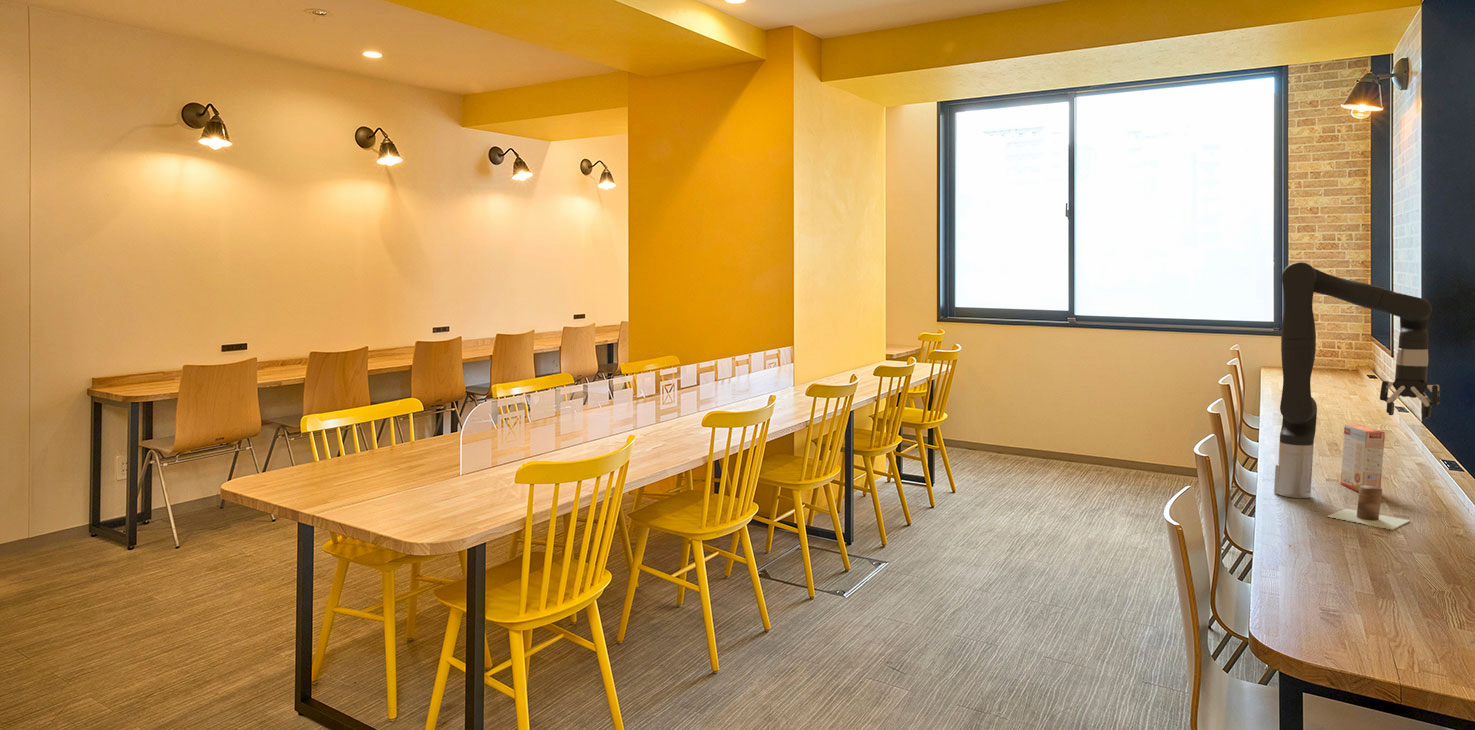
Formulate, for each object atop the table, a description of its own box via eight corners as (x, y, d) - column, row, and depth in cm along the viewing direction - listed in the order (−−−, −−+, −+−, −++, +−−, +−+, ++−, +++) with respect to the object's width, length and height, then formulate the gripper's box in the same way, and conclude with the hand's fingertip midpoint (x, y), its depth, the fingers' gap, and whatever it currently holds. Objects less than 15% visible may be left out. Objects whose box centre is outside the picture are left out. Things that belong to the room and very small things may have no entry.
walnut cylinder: (1354, 517, 248) (1357, 487, 246) (1359, 513, 251) (1362, 484, 250) (1375, 521, 244) (1379, 491, 242) (1381, 518, 247) (1384, 488, 246)
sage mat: (1327, 517, 250) (1327, 516, 250) (1345, 509, 258) (1345, 508, 258) (1392, 530, 237) (1392, 528, 237) (1410, 521, 245) (1410, 520, 245)
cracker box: (1381, 495, 275) (1386, 431, 273) (1360, 494, 276) (1365, 430, 274) (1359, 484, 289) (1363, 424, 287) (1339, 484, 290) (1343, 423, 288)
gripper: (1379, 362, 259) (1375, 415, 261) (1437, 366, 248) (1433, 421, 250) (1388, 361, 264) (1384, 412, 265) (1445, 364, 252) (1441, 418, 254)
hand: (1408, 416), depth 258 cm, fingers open, 8 cm apart
